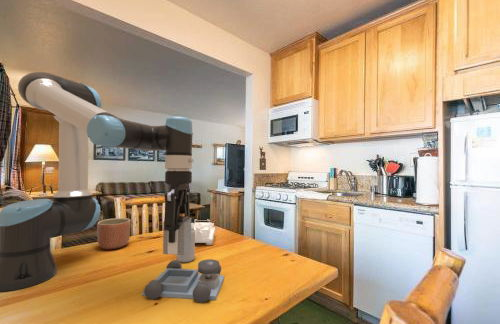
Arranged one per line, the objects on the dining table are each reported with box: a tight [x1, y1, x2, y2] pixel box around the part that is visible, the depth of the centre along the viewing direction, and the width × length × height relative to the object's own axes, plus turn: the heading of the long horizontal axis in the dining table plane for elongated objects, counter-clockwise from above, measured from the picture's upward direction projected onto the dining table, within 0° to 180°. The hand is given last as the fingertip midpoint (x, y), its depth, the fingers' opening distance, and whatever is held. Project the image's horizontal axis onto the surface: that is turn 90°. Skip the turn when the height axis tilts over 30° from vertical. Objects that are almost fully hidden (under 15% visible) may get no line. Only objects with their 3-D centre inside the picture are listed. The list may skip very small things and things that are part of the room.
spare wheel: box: [197, 258, 220, 277], centre depth 69 cm, size 6×6×4 cm
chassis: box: [141, 259, 225, 304], centre depth 69 cm, size 20×15×4 cm
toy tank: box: [191, 219, 216, 246], centre depth 110 cm, size 12×20×10 cm, turn 4°
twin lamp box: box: [162, 213, 192, 256], centre depth 70 cm, size 6×6×11 cm
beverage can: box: [176, 226, 196, 263], centre depth 89 cm, size 6×6×12 cm
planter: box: [96, 217, 132, 251], centre depth 101 cm, size 12×12×11 cm
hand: (177, 249), depth 69 cm, fingers closed on twin lamp box, 6 cm apart
